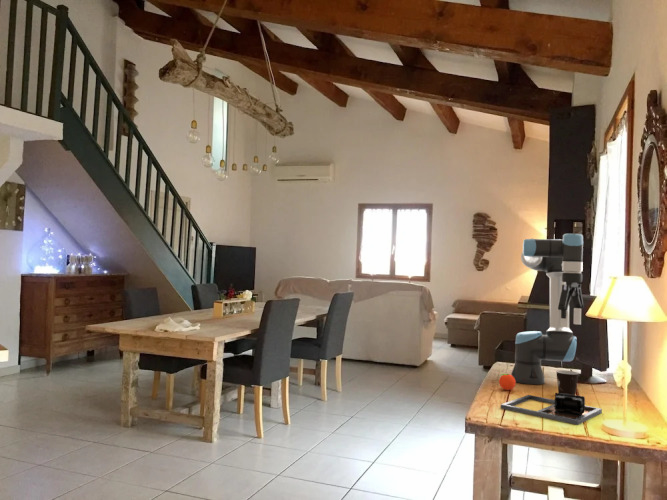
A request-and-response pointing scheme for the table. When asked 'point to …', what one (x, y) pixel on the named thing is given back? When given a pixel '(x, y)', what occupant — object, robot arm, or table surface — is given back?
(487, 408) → the table surface
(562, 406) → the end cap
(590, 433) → the table surface
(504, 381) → the clementine
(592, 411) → the divided grey frame
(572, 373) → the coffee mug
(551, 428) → the table surface
